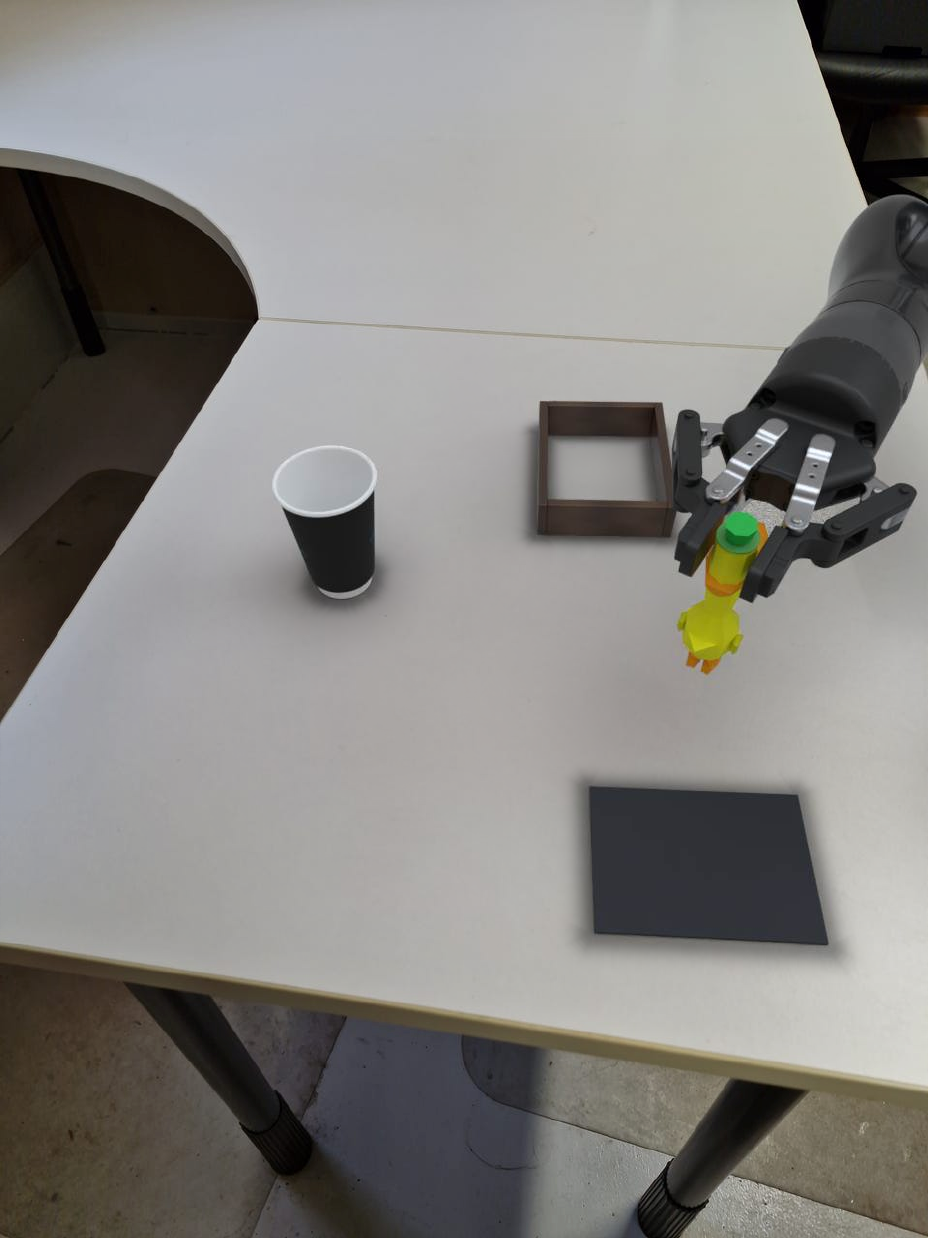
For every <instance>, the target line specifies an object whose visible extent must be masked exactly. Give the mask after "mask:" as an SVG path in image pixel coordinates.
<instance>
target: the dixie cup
mask: <svg viewBox="0 0 928 1238" xmlns="http://www.w3.org/2000/svg"><path fill="white" fill-rule="evenodd" d="M377 483H378V471H377V467H376V465H375V464H374V462H373V460H372V459H370V457H369V456H367V455H366V454H365V453H363V452H362V451H360V450H357V449H356V448H351V447H348V446H344V445H336V444H335V445H328V444H327V445H319V446H313V447H309V448H306V449H304V450H301V451H298V452H296V453H294V454H293V455H291V456H290V457H288V458H287V459H286V460H284V461H283V462H282V463H281V464H280V465H279V466H278V467H277V469H276V470H275V471H274V474H273V476H272V479H271V486H270V487H271V492H272V495H273V498H274V500H275V501H276V502H277V503H278V505H279V506H281V509H282V511H283V513H284V516H285V519H286V520H287V521H286V522H287V523H288V526H289V528H290V531H291V532H292V535H293V538H294V540H295V542H296V545H297V547H298V549H299V552H300V554H301V557H302V559H303V562H304V564H305V566H306V569H307V571H308V573H309V576H310V579H311V580H312V582H313V583H314V585H315V586H316V587H317V588H318V590H319V591H320V592H321V593H322V594H323V595H325V596H326V597H329V598H331V599H337V600H345V599H351V598H354V597H357V596H359V595H360V594H361V595H362V594H363V593H364V592H365V591H366V590H367V589H369V587H370V585H371V583H372V581H373V575H374V573H375V569H376V536H375V535H376V533H375V531H376V529H375V527H376V525H375V524H376V521H375V520H376V519H375V518H376V517H375V516H376V515H375V509H376V508H375V489H376V487H377Z"/></svg>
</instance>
